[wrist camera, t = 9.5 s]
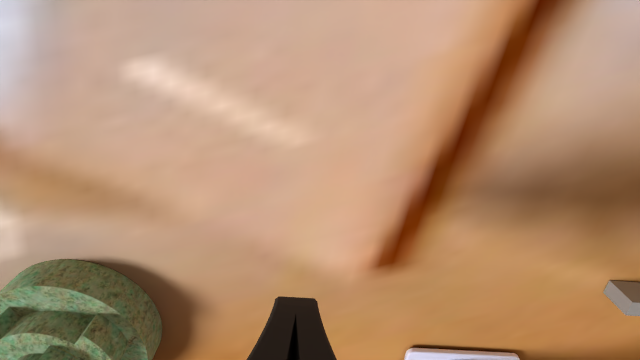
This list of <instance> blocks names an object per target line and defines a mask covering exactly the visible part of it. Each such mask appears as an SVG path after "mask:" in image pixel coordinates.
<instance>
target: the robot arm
mask: <svg viewBox="0 0 640 360" xmlns="http://www.w3.org/2000/svg"><path fill="white" fill-rule="evenodd" d="M247 360H336V357H335V355H334V353H333V350H332V348H331V346H330V343H329V341H328V338H327V335H326V333H325V330H324V327H323V324H322V321H321V317H320V314H319V309H318V304H317V301H316V300H315V299H313V298H295V297H278V298H276V299H275V303H274V306H273V309H272V312H271V314H270V317H269V319H268V321H267V323H266V326H265V328H264V330H263V332H262V334H261V335H260V337H259V339H258V341H257V343H256V345H255V347H254V348H253V350H252V352H251V353H250V355H249V357H248V358H247ZM404 360H520V359H519V357H518V355H517V354H515V353H504V352H485V351H465V350H446V349H427V348H410V349H409V350H407V352H406V355H405V359H404Z"/></svg>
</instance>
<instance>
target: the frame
mask: <svg viewBox="0 0 640 360" xmlns="http://www.w3.org/2000/svg"><path fill="white" fill-rule="evenodd" d="M603 293H604V294H605V295H606V296H607V297H608V298H609V299H610V300H611V301H612V302H613V303H614V304H615V305H616V306H617V307H618V308H619V309H620V310H621V311H622V312H623V313H624V314H625V315H630V316H640V282H627V281H611V280H609V282H608V284H607V286H606V288H605V290H604V292H603Z"/></svg>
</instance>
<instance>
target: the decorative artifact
mask: <svg viewBox="0 0 640 360" xmlns="http://www.w3.org/2000/svg"><path fill="white" fill-rule="evenodd" d="M161 337H162V322H161V318H160V315H159V312H158V310H157V308H156V306H155V305H154V303H153V301H152V300H151V299H150V297H149V296H148V295H147V294H146V293H145V292H144V291H143V290H142V289H141V288H140V287H139V286H138V285H137V284H135V283H134V282H133V281H132V280H130V279H129V278H127V277H126V276H124V275H122V274H120V273H118V272H116V271H114V270H112V269H110V268H107V267H105V266H102V265H99V264H96V263H92V262H87V261H81V260H72V259H59V260H50V261H45V262H41V263H38V264H35V265H33V266H31V267H29V268H27V269H25V270H24V271H22V272H21V273H19V274H18V275H17V276H16V277H15V278H14V279H13V280H12V281H11V282H10V283H8V284H7V285H6V286H5V287H4V288H3V289H2V290H1V291H0V360H153V357H154V355H155V353H156V351H157V348H158V346H159V344H160V341H161Z"/></svg>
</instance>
